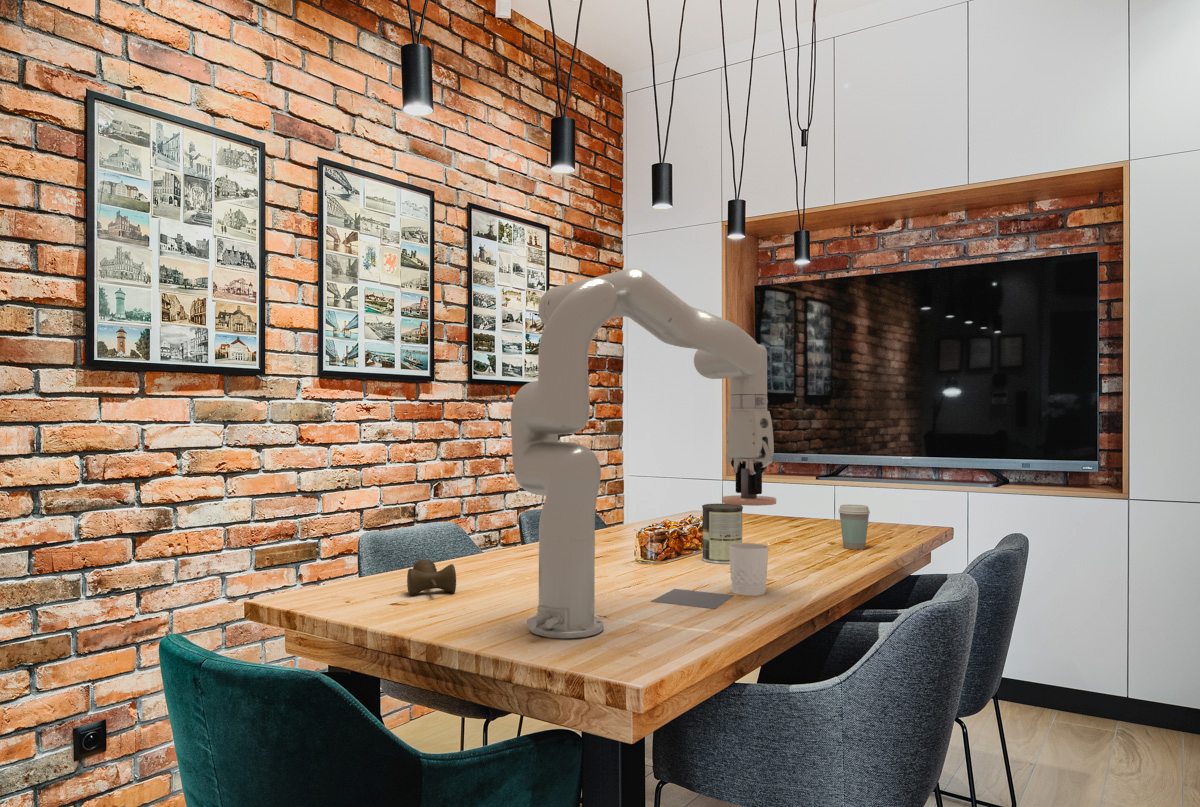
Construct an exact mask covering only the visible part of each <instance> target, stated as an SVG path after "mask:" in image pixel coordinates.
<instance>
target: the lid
mask: <svg viewBox="0 0 1200 807" xmlns="http://www.w3.org/2000/svg"><path fill="white" fill-rule="evenodd" d="M748 475H751V474H750V467H747V468H741V493H740V495H739V494H738V495H725V496H722V497H721V504H732V505H741V506H749V507H750V506H751V507H754V506H758V507H759V506H774V505H776V504H777V498H776V497H774V496H766V495H758V494H753V495H750V494H748Z"/></svg>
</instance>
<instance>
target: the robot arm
mask: <svg viewBox="0 0 1200 807" xmlns="http://www.w3.org/2000/svg"><path fill="white" fill-rule="evenodd" d="M537 312H538V317H539V318H540V321H541V323H542V324H543V325H544V328H543V330H542V333H541V336H540V340H539V345H538V355H537V356H538V358H537V359H538V360H537V361H538V362H537V364H538V374H537V378H538V379H537V380H535V381H533V380H532V381H530V382H527V383H526V384H523V385H522V386H521V388H519V389H518V391H517V392H516V394H515V395H514V397H513V400H512V404H511V408H510V431H511V435H510V436H511V453H512V454H511V455H512V466H513V473H514V476H515V479H516V482H517V483H518V486H520V487H521V488H522V489H523V490H525V492H528V493H529V494H534V495H539V496H545V500H544V502H543V506H542V508H541V513H540V515H539V521H538V522H539V523H538V605H537V613H536V615H533V616H531V617H529V618H528V619H527V620H526V626H527V628H528V629H529V632H531V633H532V634H534V635H536V636H541V637H544V638H550V639H551V638H552V639H580V638H587V637H591V636H594V635H597V634H599V633H601V632H602V631H604V621H603V620H602V619H601V618H599V617H597V616H595V602H596V599H595V597H596V596H595V588H596V587H595V583H596V582H595V580H596V578H595V576H596V574H595V573H596V571H595V570H596V569H595V567H596V566H595V563H596V560H595V559H596V556H595V555H596V553H595V552H596V543H595V542H596V536H595V535H596V534H595V533H596V531H595V530H596V527H595V526H596V507H597V500H598V496H599V489H600V485H601V484H600V483H601V478H602V473H601V472H602V468H601V464H600V461H599V458H598V457H597V455H596V454H595V453H594V451H593V450H592V449H590V447H587V446H586V445H583V444H581V443H577V442H569V441H568V442H567V441H559V435H571V434H576V433H579V432H580V431H582V430H584V428H585V427H586V426H587V425H588V422H589V420H590V408H591V407H590V384H589V382H590V381H589V350H590V347H591V344H592V341H593V339H594V337H595V335H596V334H597V333H598V330H600V328H602V326H604V324H606V323H607V322H608V321H609V320H612V319H618V318H622V317H623V318H625V317H626V318H629V319H631V320H632V321H633V322H635V323H636V324H638V325H639V326H640V327H641V328H643V329H644V330H646V331H647V332H648V333H650V334H651V335H653V336H654V337H655V338H656V339H658V340H659V341H661V342H663V343H665V344H668V345H671V346H674V347H678V348H679V347H680V348H685V349H686V348H687V349H692V350H696V351H695V352H694V356H693V365H694V367H695V370H696V371H697V373H698V374H699V375H700V376H702V377H703V378H707V379H711V380H720V379H721V380H722V379H729V390H730V391H729V395H730V396H729V407H730V408H729V413H728V419H727V428H726V457H725V460H726V461H727V462H729V463H730V465H731V466H732V468H733V473H734V474H735V493H737V494H741V468H750V474H751V475H748V494H750V495H753V494H757V495H762V493H763V475H764V474H765V470H766V468H767V467H768V466H769V465H770V464H772V463H773V461H774V460H773V457H774V456H775V454H774V453H775V451H774V450H775V446H774V445H775V444H774V430H773V429H774V427H773V422H772V421H773V420H772V416H771V413H770V410H768V403H769V400H768V350H767V348H766V347H765V346H764V345H762V344H759V343H757V341H756V339H754V338H753V337H752V336H751V335H750V334H748V333H747V332H746V331H745V330H743V328H741V327H740V326H738V325H737V324H735V323H733V322H732V321H730V320H729V319H725V318H724V317H721V316H718V315H714V314H712V313H710V312H707V311H705V310H703V309H699V308H697V307H693V306H691V305H689V304H687V303H686V301H684V300H682V299H681V298H680V297H679V296H678V295H676V294H675V293H674V292H672V291H671V290H670V289H668V288H667V287H666V286H665V285H663V284H662V283H661V282H659V281H658V280H657V279H656V278H654V277H653V276H652V275H650V274H649V273H648V272H647V271H644V270H643V269H640V268H628V269H623V270H619V271H614V272H611V273H606V274H602V275H599V276H596V277H593V278H586V279H581V280H577V281H573V282H570V283H566V284H562V285H558V286H554V287H552V288H549V289H548V290H546V291H545V292H544V293H543V295H542V296H541V298H540V300H539V304H538V311H537ZM748 466H749V467H748Z"/></svg>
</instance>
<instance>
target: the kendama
mask: <svg viewBox="0 0 1200 807" xmlns="http://www.w3.org/2000/svg"><path fill="white" fill-rule="evenodd" d="M456 573H457V572H456V567H455V565H454V564H453V563H451V564H448V565H447V566H446V567H444V568H442V569H440V570H438V569H437V566H436V564H435V563H434V562H433V561H432V560H430V559H425V558H424V559H421V560H417V561H416V562H415V563H414V565H413V567H412V568H409V569H408V570H407V575H406V576H407V577H406V582H407V585H406V586H407V592H408V596H411V597H413V596H416V595H417V594H419V593H421V592H423V591H426V590H432V589H439V590H443V591H445V592H447V593H450V594H455V592H456V590H457V589H456V588H457V574H456Z"/></svg>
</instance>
